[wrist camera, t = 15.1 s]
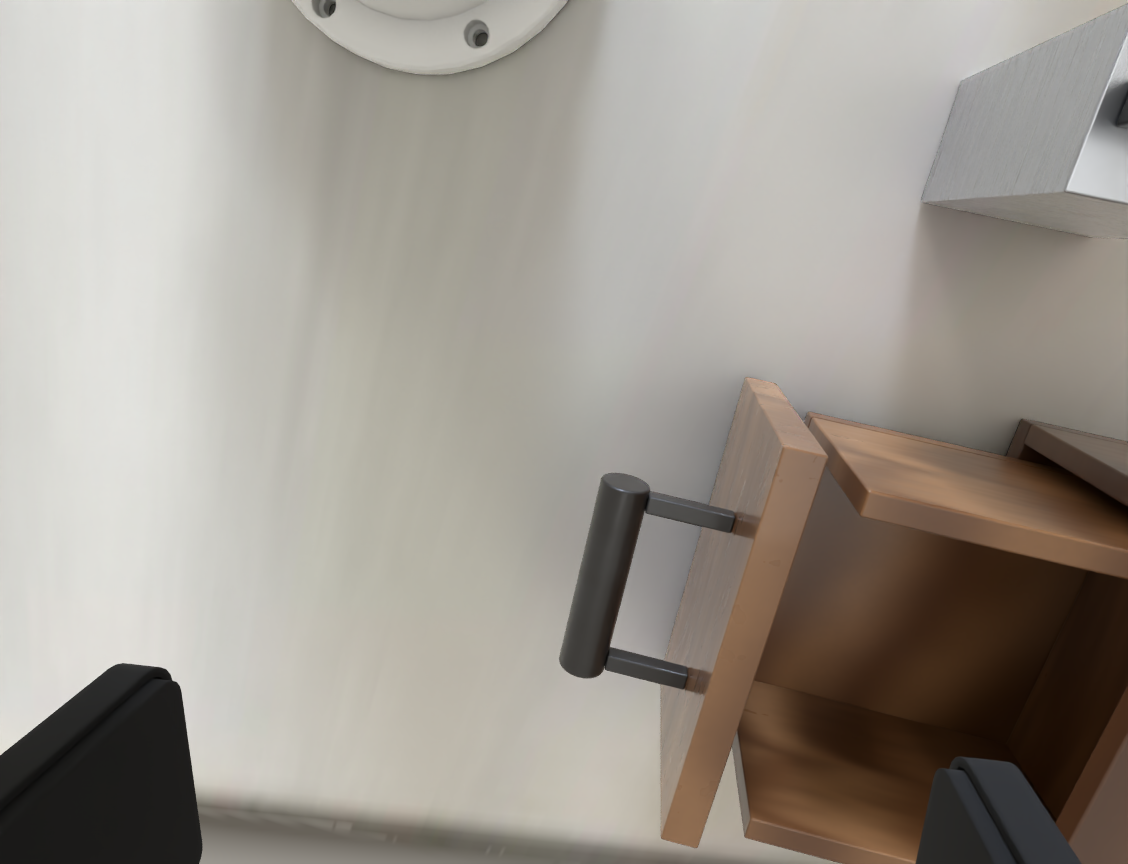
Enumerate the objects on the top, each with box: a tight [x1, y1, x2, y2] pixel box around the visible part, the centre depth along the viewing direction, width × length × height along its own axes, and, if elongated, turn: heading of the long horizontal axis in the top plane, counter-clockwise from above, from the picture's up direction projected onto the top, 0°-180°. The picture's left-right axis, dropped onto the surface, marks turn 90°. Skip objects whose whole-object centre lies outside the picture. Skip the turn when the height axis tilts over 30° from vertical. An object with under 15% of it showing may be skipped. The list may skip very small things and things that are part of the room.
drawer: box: [559, 377, 1128, 864], centre depth 24 cm, size 19×13×9 cm
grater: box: [921, 3, 1128, 239], centre depth 19 cm, size 6×4×11 cm, turn 78°
